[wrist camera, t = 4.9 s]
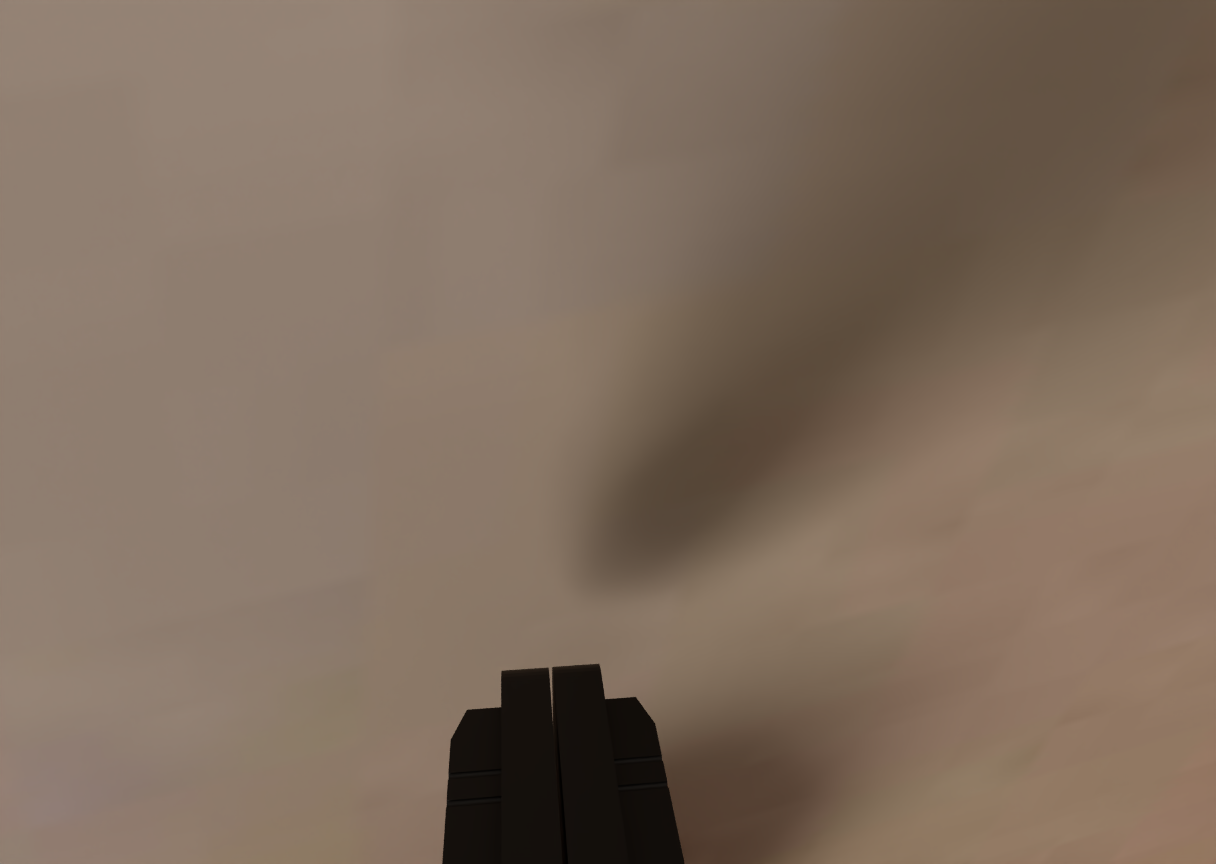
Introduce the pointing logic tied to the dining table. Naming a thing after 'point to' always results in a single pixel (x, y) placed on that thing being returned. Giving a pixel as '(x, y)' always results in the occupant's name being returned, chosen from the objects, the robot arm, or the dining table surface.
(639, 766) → the robot arm
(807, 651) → the dining table surface
